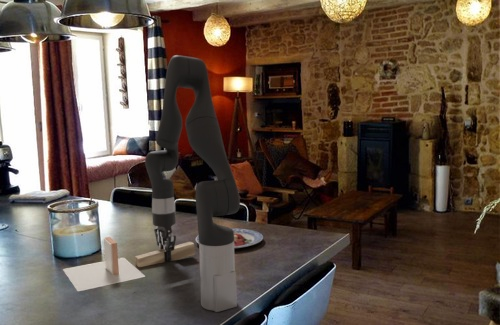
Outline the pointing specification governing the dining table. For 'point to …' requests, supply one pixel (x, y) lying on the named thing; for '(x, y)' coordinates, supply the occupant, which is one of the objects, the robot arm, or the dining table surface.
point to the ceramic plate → (243, 237)
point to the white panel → (101, 274)
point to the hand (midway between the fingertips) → (166, 260)
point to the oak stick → (158, 256)
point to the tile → (111, 255)
